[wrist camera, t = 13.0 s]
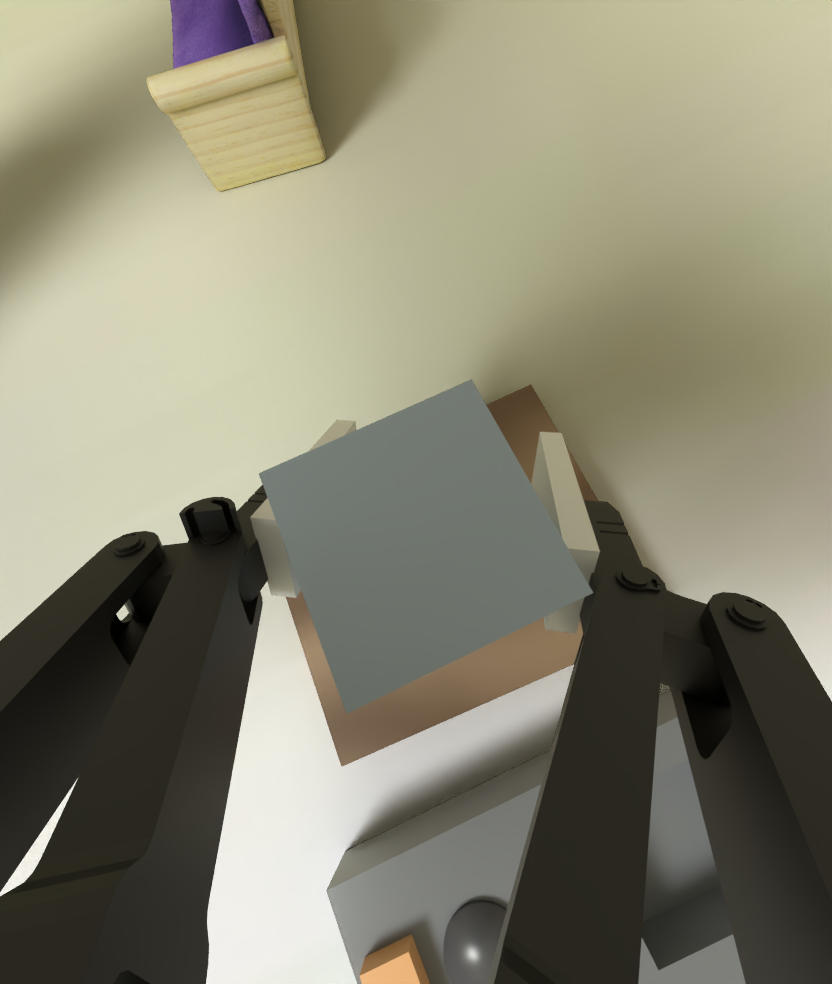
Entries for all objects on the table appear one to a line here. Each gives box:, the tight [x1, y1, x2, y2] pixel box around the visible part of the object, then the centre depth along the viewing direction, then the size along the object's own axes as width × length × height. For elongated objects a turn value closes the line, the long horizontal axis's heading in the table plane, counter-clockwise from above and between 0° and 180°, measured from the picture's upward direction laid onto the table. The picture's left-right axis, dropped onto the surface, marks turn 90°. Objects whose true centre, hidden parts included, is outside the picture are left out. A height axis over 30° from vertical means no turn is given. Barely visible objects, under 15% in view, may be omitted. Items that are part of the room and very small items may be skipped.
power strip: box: [327, 690, 746, 984], centre depth 16 cm, size 18×8×4 cm, turn 116°
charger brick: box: [259, 380, 593, 714], centre depth 13 cm, size 5×5×12 cm
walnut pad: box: [286, 385, 598, 766], centre depth 21 cm, size 13×16×1 cm
